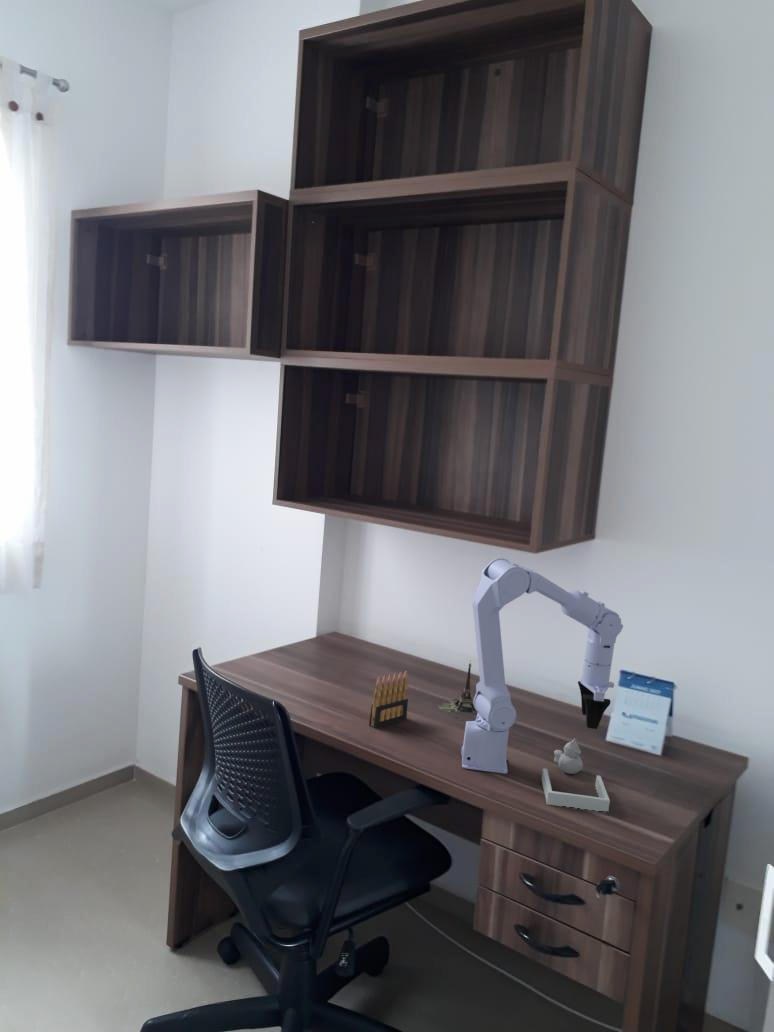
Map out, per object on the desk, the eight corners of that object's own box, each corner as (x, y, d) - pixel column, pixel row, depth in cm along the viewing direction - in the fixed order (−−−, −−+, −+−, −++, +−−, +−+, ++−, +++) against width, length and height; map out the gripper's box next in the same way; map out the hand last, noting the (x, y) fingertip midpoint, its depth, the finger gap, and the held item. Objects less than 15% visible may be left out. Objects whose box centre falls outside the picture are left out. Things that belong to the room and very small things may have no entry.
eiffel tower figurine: (464, 697, 215) (470, 648, 213) (496, 709, 208) (502, 659, 206) (429, 709, 204) (435, 658, 202) (462, 723, 197) (468, 670, 195)
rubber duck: (575, 780, 170) (580, 744, 169) (546, 769, 174) (551, 734, 173) (586, 772, 175) (591, 737, 174) (558, 762, 179) (562, 727, 177)
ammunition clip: (401, 716, 196) (406, 668, 194) (406, 719, 194) (411, 671, 193) (368, 725, 188) (373, 676, 187) (374, 728, 187) (379, 678, 185)
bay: (546, 804, 158) (548, 792, 158) (541, 779, 169) (543, 768, 169) (608, 812, 157) (609, 800, 157) (598, 787, 168) (600, 775, 168)
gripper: (622, 674, 169) (613, 736, 171) (611, 654, 183) (602, 711, 185) (588, 670, 170) (579, 732, 171) (579, 650, 184) (571, 707, 186)
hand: (589, 721), depth 178 cm, fingers open, 7 cm apart
